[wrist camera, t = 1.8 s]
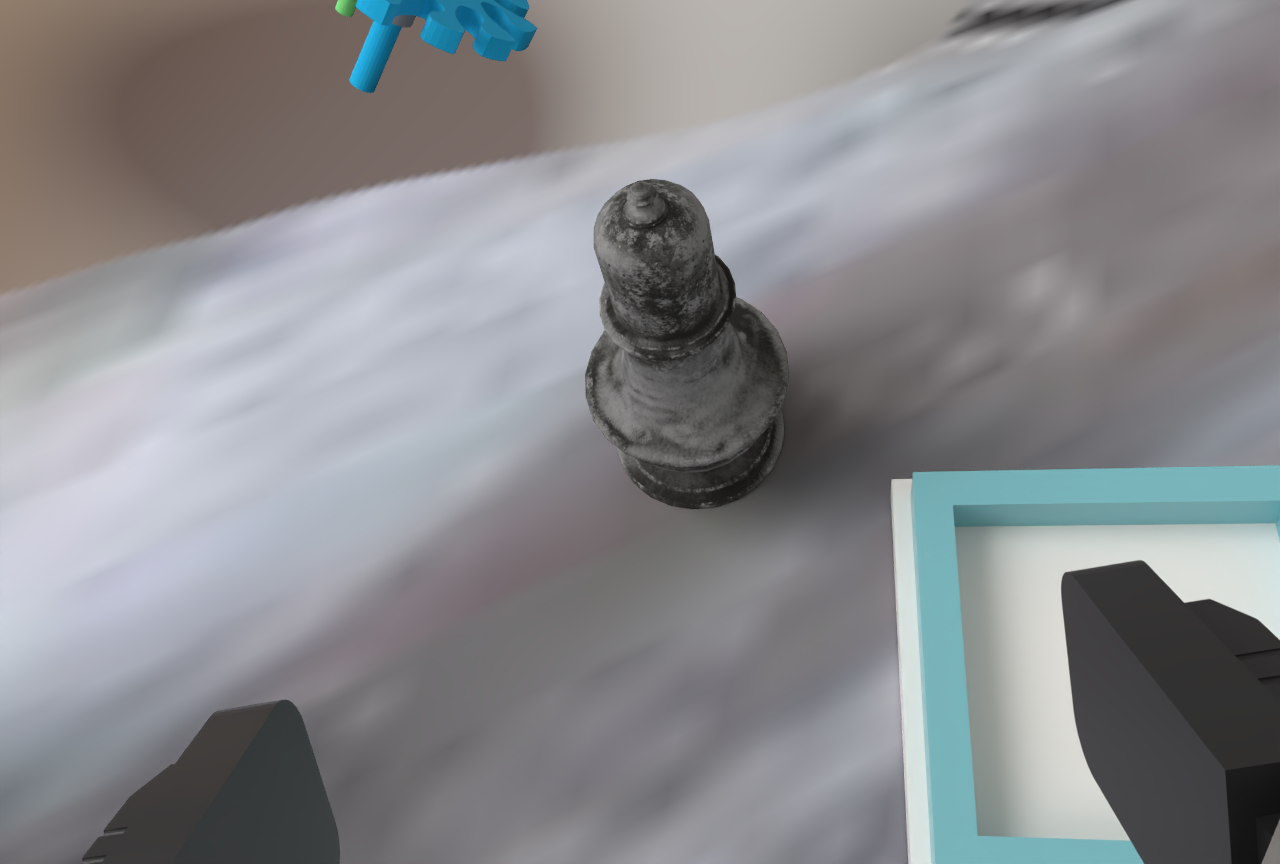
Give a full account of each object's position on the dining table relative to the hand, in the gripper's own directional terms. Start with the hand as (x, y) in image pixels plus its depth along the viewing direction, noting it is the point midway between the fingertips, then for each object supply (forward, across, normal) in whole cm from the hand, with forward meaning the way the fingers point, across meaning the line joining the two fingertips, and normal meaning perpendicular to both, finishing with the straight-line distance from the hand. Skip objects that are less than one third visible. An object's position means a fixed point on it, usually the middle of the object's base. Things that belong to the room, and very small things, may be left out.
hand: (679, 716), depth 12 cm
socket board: (+17, -10, +11) cm, 23 cm away
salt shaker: (+24, 0, +4) cm, 25 cm away
